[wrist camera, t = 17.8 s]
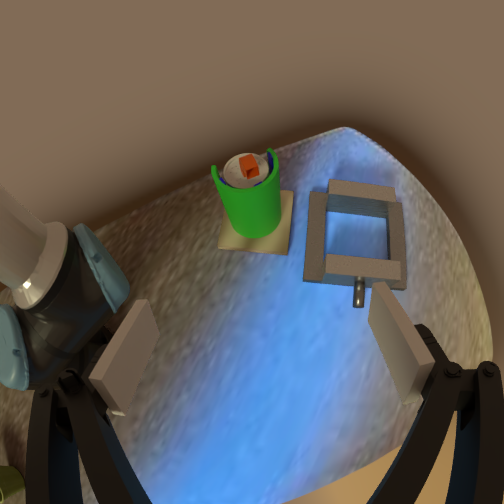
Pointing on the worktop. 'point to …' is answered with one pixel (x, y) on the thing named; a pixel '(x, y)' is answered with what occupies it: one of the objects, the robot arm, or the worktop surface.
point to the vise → (349, 267)
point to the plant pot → (10, 482)
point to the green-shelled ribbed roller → (251, 193)
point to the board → (267, 244)
